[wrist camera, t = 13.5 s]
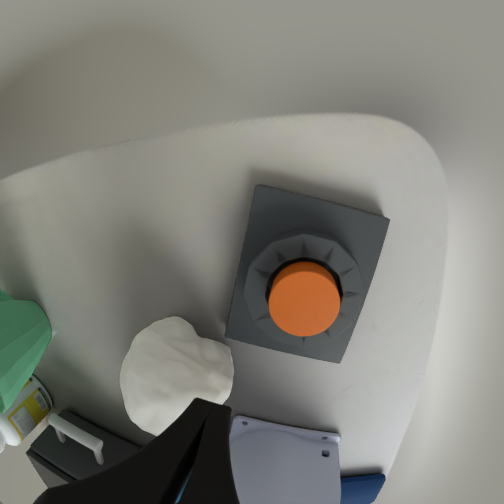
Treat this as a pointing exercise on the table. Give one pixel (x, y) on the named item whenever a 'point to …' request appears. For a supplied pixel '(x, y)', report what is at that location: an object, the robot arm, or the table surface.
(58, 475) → the small black cabinet
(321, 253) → the control block
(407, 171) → the table surface
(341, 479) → the cell phone
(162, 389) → the white animal figurine
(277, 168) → the table surface
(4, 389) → the mug
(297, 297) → the button
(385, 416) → the table surface
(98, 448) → the drawer
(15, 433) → the pill bottle
